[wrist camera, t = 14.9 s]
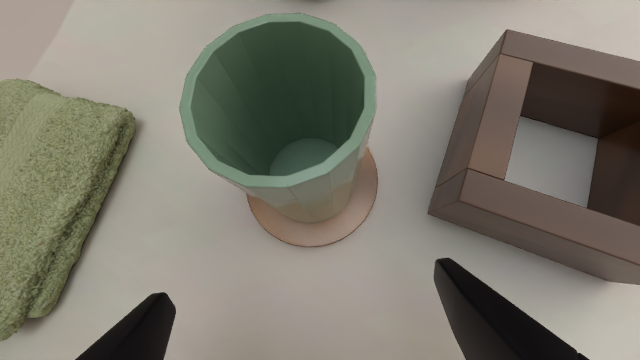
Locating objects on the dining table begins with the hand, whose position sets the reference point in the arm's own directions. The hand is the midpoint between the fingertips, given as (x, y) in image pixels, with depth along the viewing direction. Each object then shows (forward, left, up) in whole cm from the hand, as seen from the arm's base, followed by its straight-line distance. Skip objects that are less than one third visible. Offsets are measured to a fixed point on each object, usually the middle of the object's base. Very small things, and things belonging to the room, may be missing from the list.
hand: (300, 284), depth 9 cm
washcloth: (+10, +21, -10) cm, 26 cm away
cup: (+6, -1, -10) cm, 11 cm away
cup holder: (+3, -17, -10) cm, 20 cm away
